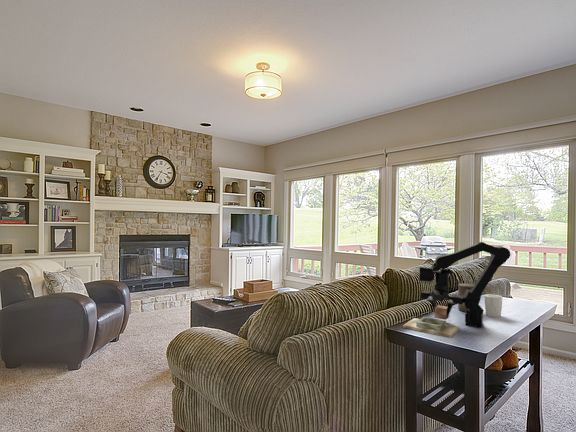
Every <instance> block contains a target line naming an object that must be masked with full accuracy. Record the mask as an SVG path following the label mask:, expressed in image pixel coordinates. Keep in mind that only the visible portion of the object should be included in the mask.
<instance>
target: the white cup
mask: <svg viewBox="0 0 576 432" xmlns="http://www.w3.org/2000/svg"><path fill="white" fill-rule="evenodd" d="M484 309H485V316H487V317H490V318H500V317H502V309H503V296H502V295H499V294H492V293H486V294H484Z"/></svg>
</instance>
